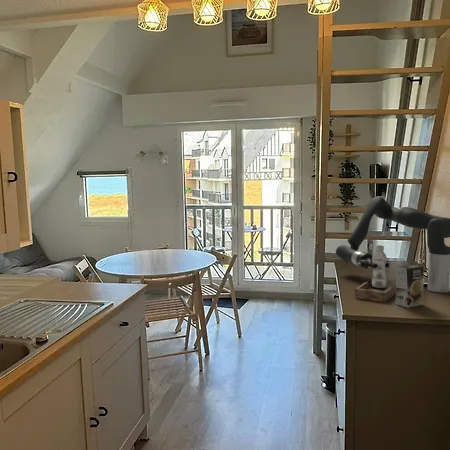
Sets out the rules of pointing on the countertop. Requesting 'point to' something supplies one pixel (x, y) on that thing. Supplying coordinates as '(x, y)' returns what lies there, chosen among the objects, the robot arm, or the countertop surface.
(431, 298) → the countertop surface
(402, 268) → the coffee box
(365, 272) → the countertop surface
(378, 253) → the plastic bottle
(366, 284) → the walnut bay
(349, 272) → the countertop surface
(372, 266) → the robot arm
